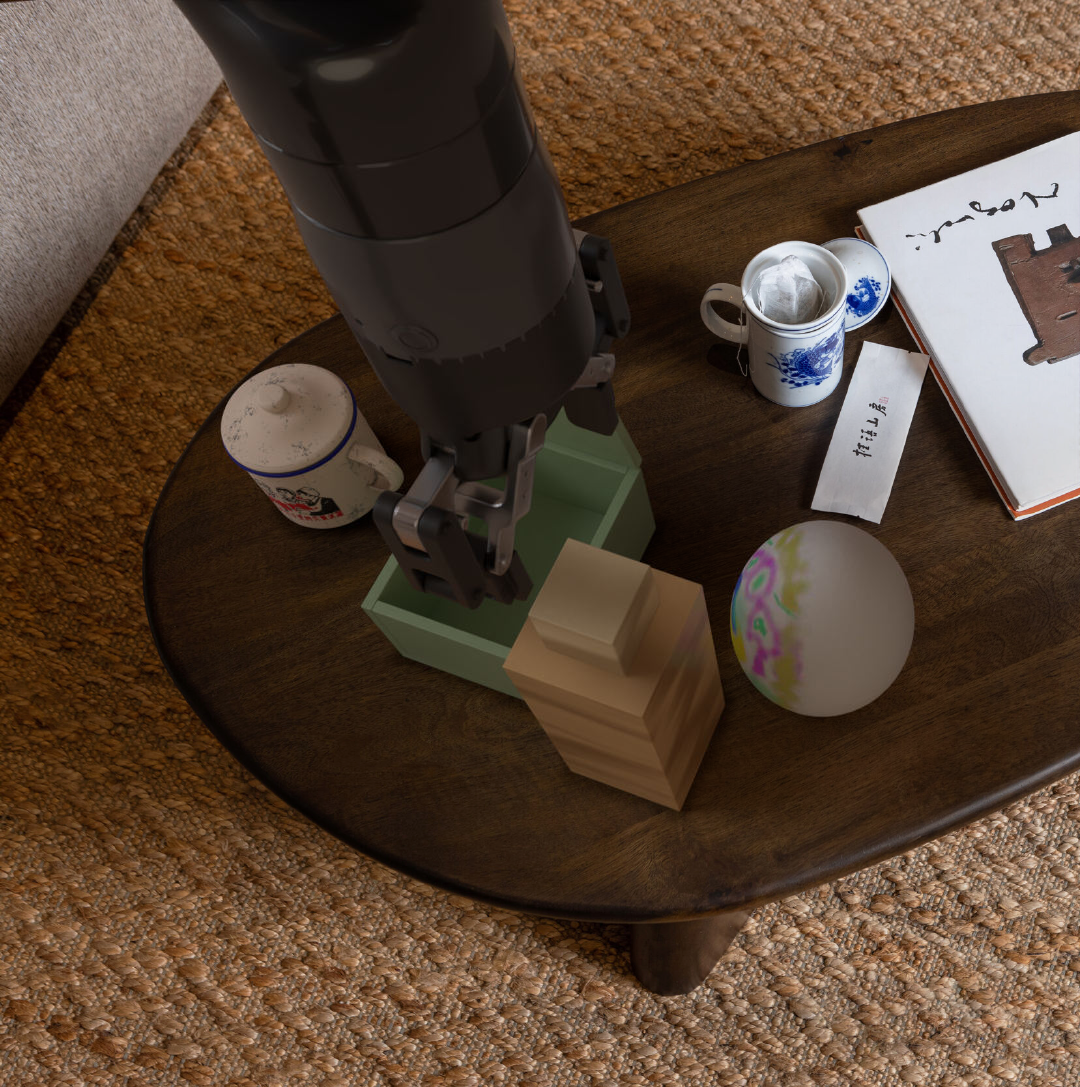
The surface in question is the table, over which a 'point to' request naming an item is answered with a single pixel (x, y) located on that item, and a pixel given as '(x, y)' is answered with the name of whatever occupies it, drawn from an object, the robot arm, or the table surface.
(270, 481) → the teacup with lid
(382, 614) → the chest
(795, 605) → the decorative egg
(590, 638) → the block
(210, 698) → the table surface
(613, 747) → the stand
